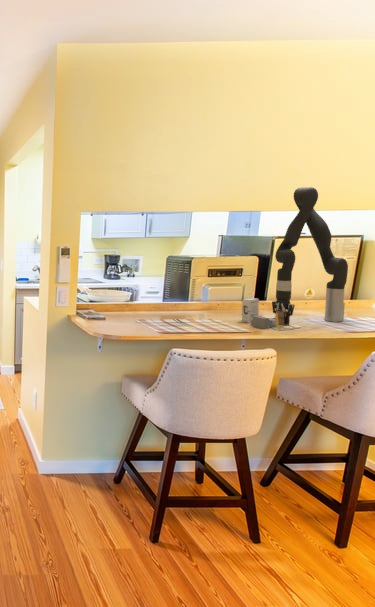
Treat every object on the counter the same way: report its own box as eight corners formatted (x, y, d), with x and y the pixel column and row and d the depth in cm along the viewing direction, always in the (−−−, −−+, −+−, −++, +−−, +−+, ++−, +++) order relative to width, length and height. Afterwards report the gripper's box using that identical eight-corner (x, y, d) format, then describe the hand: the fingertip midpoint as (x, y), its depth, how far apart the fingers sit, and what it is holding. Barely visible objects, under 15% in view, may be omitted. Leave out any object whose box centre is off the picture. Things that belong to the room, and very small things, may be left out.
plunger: (268, 324, 290) (269, 310, 289) (288, 328, 280) (288, 314, 279) (262, 324, 288) (263, 310, 287) (282, 329, 277) (282, 314, 276)
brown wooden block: (282, 323, 295) (282, 310, 294) (289, 325, 291) (289, 311, 290) (274, 324, 292) (275, 310, 291) (281, 326, 288) (282, 312, 287)
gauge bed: (275, 322, 298) (276, 312, 298) (301, 327, 284) (302, 317, 283) (248, 325, 288) (249, 315, 287) (274, 331, 273) (274, 320, 272)
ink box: (249, 323, 294) (250, 300, 292) (241, 321, 297) (242, 299, 295) (258, 321, 300) (259, 298, 299) (250, 320, 303) (251, 297, 302)
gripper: (299, 290, 285) (297, 324, 287) (279, 287, 297) (277, 320, 299) (288, 291, 281) (287, 326, 283) (268, 288, 292) (266, 321, 295)
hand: (282, 322), depth 291 cm, fingers closed on brown wooden block, 5 cm apart
